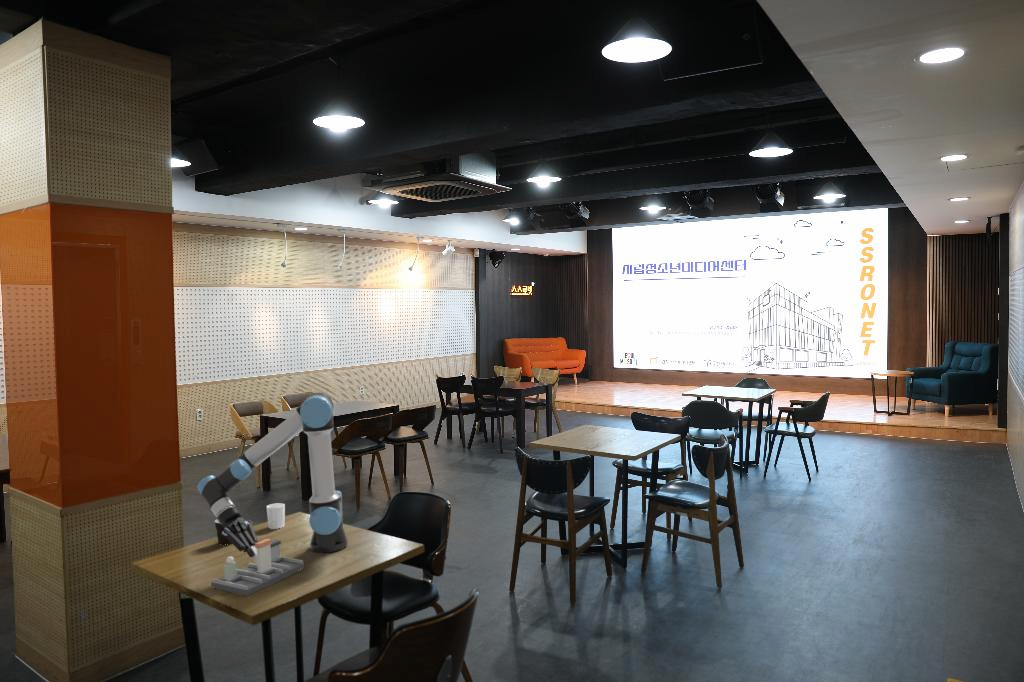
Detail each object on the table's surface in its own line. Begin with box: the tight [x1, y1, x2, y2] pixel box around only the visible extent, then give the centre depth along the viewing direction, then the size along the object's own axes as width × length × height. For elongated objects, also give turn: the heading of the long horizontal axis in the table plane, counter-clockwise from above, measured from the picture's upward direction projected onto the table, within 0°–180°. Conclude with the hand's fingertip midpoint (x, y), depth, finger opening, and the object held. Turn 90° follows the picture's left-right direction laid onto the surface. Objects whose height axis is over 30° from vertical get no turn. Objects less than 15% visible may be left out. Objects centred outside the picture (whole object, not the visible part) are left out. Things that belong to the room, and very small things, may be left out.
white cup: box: [266, 502, 286, 530], centre depth 314 cm, size 8×8×10 cm
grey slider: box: [270, 539, 282, 563], centre depth 264 cm, size 4×6×7 cm
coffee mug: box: [214, 518, 233, 546], centre depth 295 cm, size 12×9×10 cm
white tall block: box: [255, 538, 274, 575], centre depth 252 cm, size 4×6×12 cm
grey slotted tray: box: [210, 555, 305, 597], centre depth 254 cm, size 18×27×3 cm, turn 153°
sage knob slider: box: [221, 555, 241, 582], centre depth 246 cm, size 4×5×8 cm
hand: (260, 562), depth 253 cm, fingers closed
